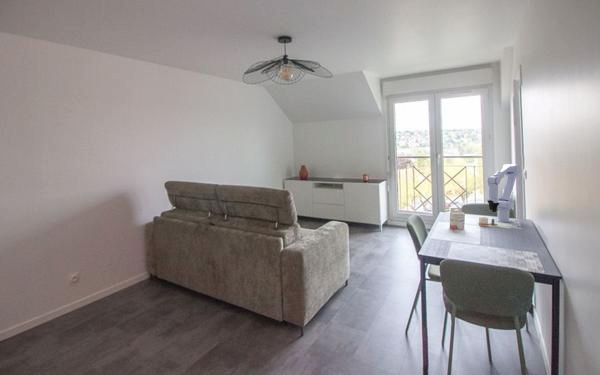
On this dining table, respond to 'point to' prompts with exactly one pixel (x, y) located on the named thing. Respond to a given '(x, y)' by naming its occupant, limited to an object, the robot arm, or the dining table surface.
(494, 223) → the pin board
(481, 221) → the sleeve
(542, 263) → the dining table surface
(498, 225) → the mat
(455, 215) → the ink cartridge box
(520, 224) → the dining table surface
